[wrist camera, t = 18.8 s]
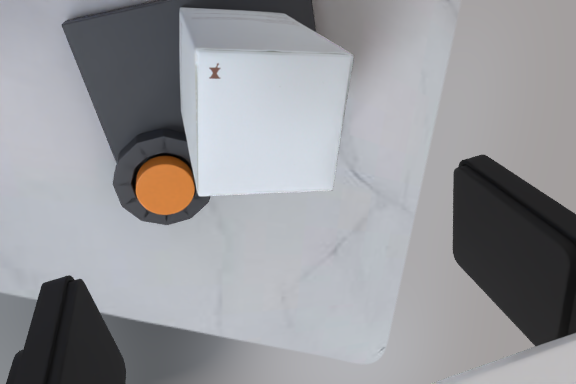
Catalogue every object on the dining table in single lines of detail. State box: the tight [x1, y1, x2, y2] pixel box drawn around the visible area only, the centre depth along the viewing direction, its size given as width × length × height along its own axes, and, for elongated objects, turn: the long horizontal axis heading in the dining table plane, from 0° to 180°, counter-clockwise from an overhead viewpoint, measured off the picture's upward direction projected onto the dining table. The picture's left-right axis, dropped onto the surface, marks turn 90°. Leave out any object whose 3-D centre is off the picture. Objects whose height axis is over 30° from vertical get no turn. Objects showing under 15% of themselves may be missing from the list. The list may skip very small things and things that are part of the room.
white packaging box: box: [179, 7, 354, 196], centre depth 28 cm, size 7×7×13 cm
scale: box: [62, 0, 316, 225], centre depth 34 cm, size 16×15×3 cm
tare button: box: [136, 156, 195, 215], centre depth 34 cm, size 4×4×2 cm
